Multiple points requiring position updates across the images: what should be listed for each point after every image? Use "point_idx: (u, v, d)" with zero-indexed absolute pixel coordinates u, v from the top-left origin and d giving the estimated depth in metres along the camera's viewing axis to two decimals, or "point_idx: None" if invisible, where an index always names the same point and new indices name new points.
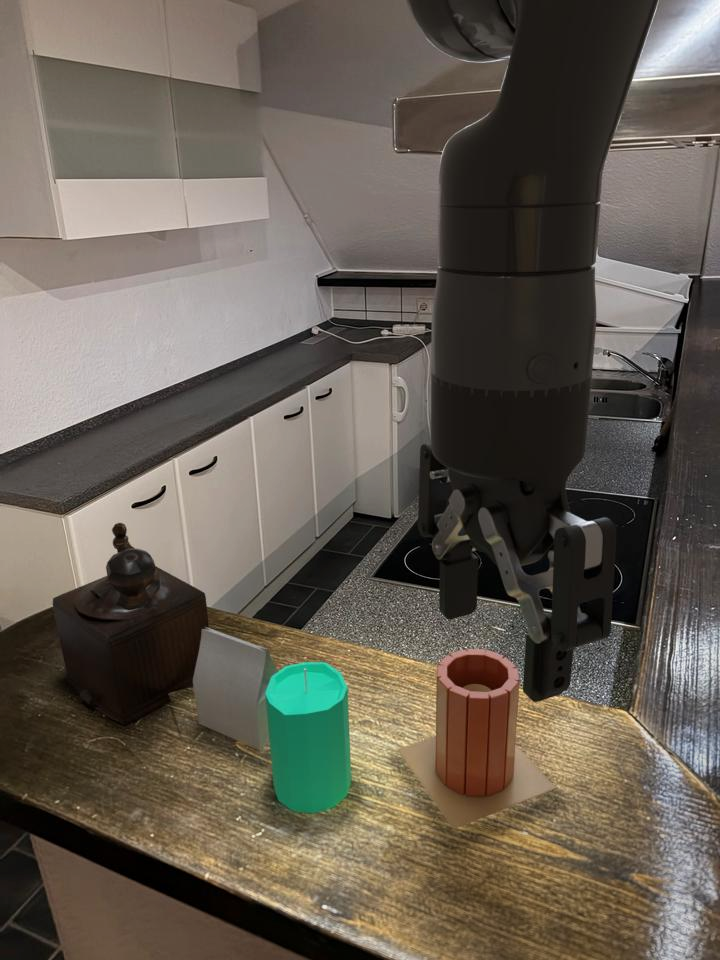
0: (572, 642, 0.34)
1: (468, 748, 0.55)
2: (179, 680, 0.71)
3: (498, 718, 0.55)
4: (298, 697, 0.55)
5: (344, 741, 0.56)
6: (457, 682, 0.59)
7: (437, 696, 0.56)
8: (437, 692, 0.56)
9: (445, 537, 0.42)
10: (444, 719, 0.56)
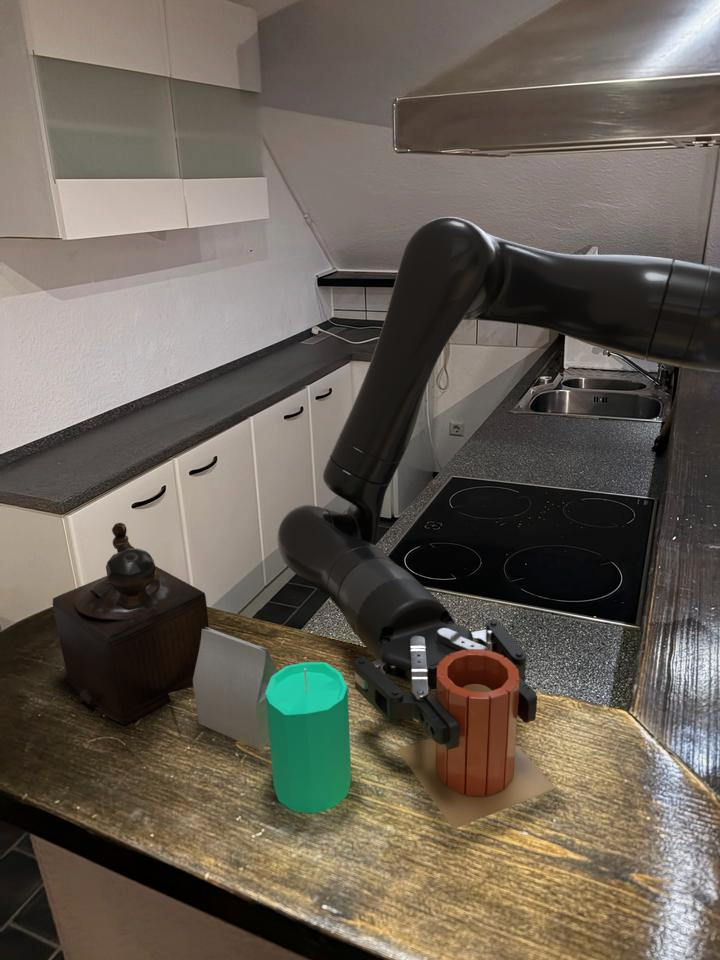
0: (388, 717, 0.58)
1: (468, 748, 0.55)
2: (179, 680, 0.71)
3: (498, 718, 0.54)
4: (298, 697, 0.55)
5: (344, 741, 0.56)
6: (457, 682, 0.59)
7: (437, 696, 0.56)
8: (437, 692, 0.56)
9: None
10: None
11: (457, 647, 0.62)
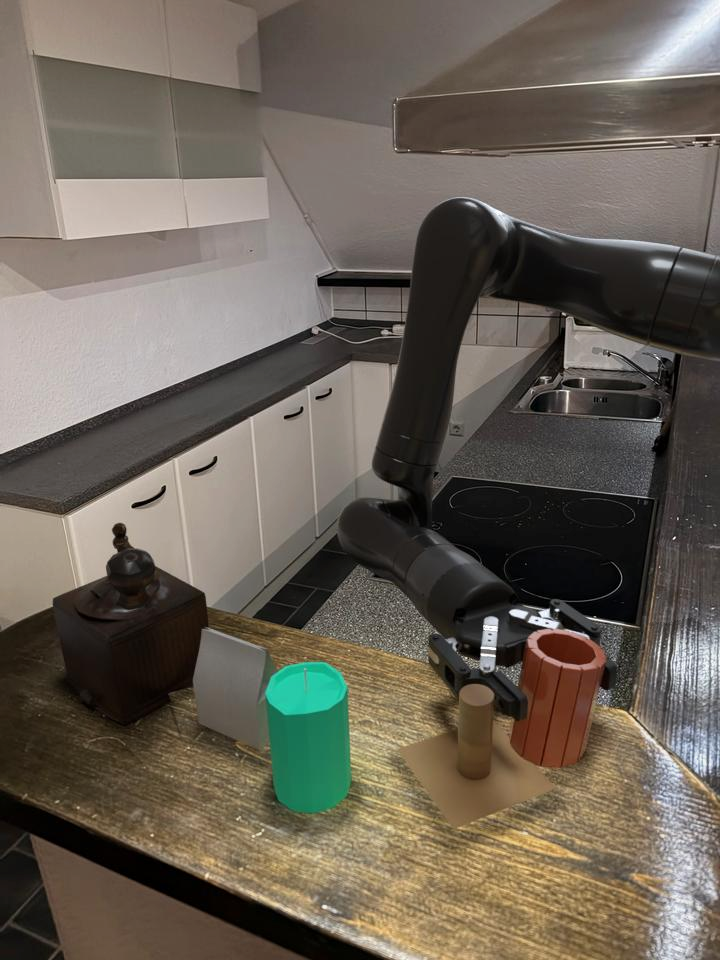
0: (455, 693, 0.61)
1: (553, 718, 0.58)
2: (179, 680, 0.71)
3: (586, 691, 0.58)
4: (298, 697, 0.55)
5: (344, 741, 0.56)
6: None
7: (526, 667, 0.59)
8: (527, 663, 0.59)
9: None
10: (532, 689, 0.59)
11: (532, 625, 0.65)
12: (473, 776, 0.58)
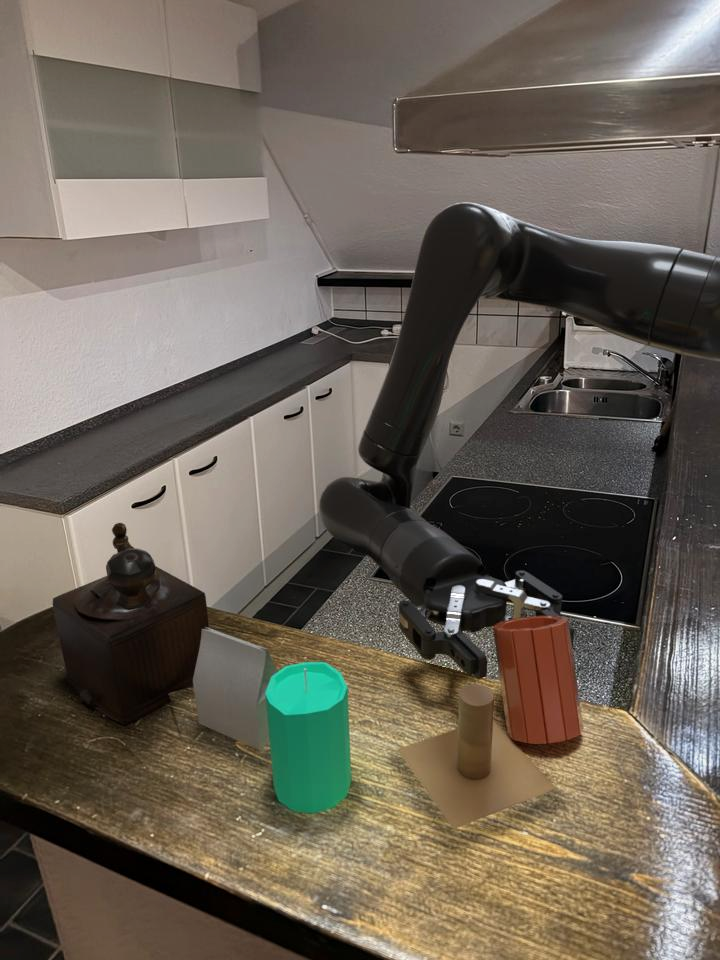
0: (422, 654, 0.65)
1: (541, 686, 0.60)
2: (179, 680, 0.71)
3: (561, 649, 0.61)
4: (298, 697, 0.55)
5: (344, 741, 0.56)
6: None
7: (501, 649, 0.62)
8: (500, 645, 0.62)
9: None
10: (513, 666, 0.61)
11: (497, 593, 0.69)
12: (473, 776, 0.58)
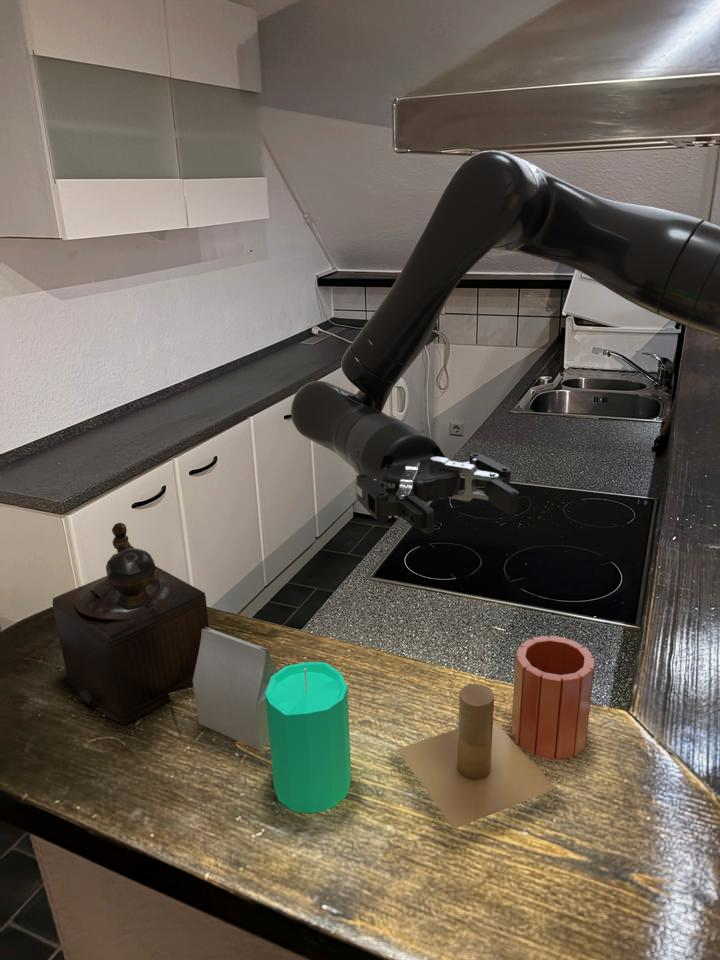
0: (376, 516, 0.69)
1: (560, 728, 0.59)
2: (179, 680, 0.71)
3: (585, 695, 0.59)
4: (298, 697, 0.55)
5: (344, 741, 0.56)
6: None
7: (523, 686, 0.60)
8: (523, 682, 0.60)
9: None
10: (535, 706, 0.59)
11: (449, 467, 0.73)
12: (473, 776, 0.58)
